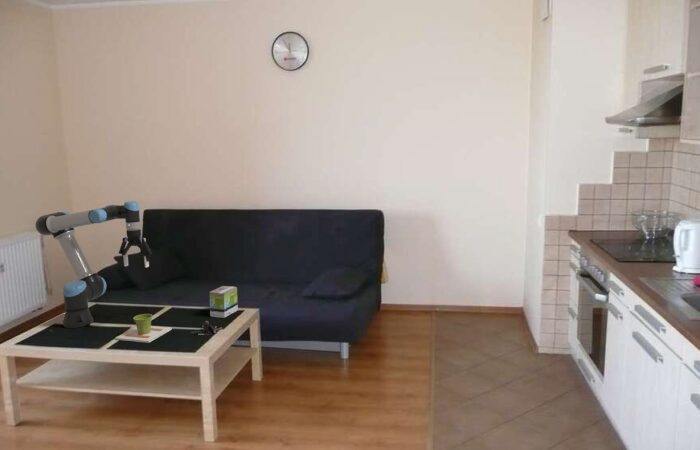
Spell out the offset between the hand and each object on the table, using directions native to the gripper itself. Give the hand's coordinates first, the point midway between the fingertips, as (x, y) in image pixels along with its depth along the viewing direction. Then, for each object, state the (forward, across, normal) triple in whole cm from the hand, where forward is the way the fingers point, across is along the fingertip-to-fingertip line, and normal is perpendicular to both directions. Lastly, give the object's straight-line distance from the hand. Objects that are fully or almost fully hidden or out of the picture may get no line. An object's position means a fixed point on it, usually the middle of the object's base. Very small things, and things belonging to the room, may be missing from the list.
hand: (136, 266), depth 319 cm
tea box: (+31, +43, +19) cm, 56 cm away
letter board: (+31, +18, -22) cm, 42 cm away
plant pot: (+30, +18, -22) cm, 41 cm away
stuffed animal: (+31, +49, -11) cm, 59 cm away
